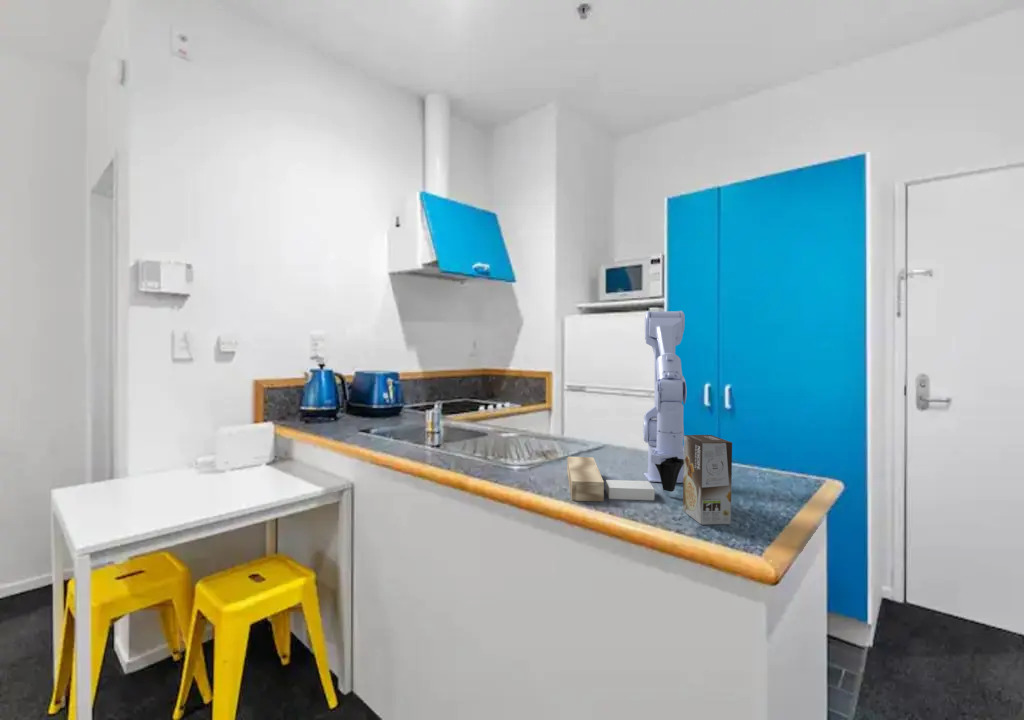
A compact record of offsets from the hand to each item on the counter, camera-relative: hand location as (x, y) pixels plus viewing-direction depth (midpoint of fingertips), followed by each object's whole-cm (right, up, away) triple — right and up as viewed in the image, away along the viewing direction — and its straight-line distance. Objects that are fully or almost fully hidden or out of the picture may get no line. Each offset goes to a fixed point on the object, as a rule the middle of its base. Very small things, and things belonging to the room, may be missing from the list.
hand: (668, 490), depth 116 cm
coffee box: (+3, -2, -14) cm, 15 cm away
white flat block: (-9, -1, +1) cm, 9 cm away
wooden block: (-18, -1, +8) cm, 20 cm away
